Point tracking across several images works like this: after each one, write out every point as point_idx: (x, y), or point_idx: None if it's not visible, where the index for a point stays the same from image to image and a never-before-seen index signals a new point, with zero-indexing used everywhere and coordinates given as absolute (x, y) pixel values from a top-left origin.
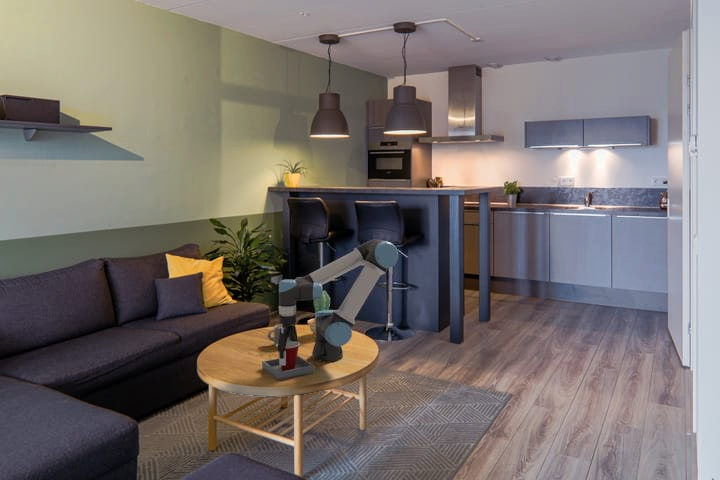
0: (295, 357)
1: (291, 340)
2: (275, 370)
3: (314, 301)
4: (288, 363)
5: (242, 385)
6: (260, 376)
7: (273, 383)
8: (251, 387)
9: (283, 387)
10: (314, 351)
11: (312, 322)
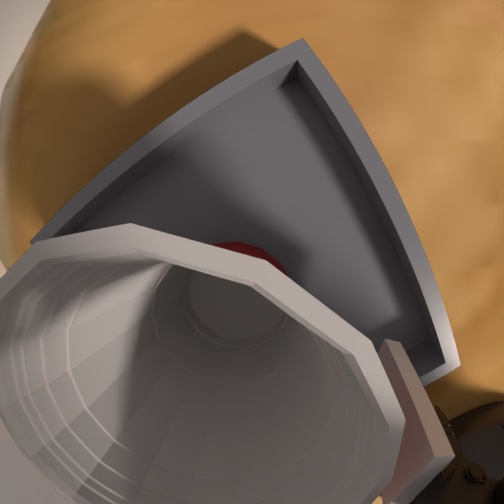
0: (171, 416)
1: (445, 483)
2: (62, 214)
3: None
4: (145, 330)
5: (25, 51)
6: (129, 90)
7: (34, 208)
8: (2, 106)
9: (9, 268)
10: (470, 453)
11: None
